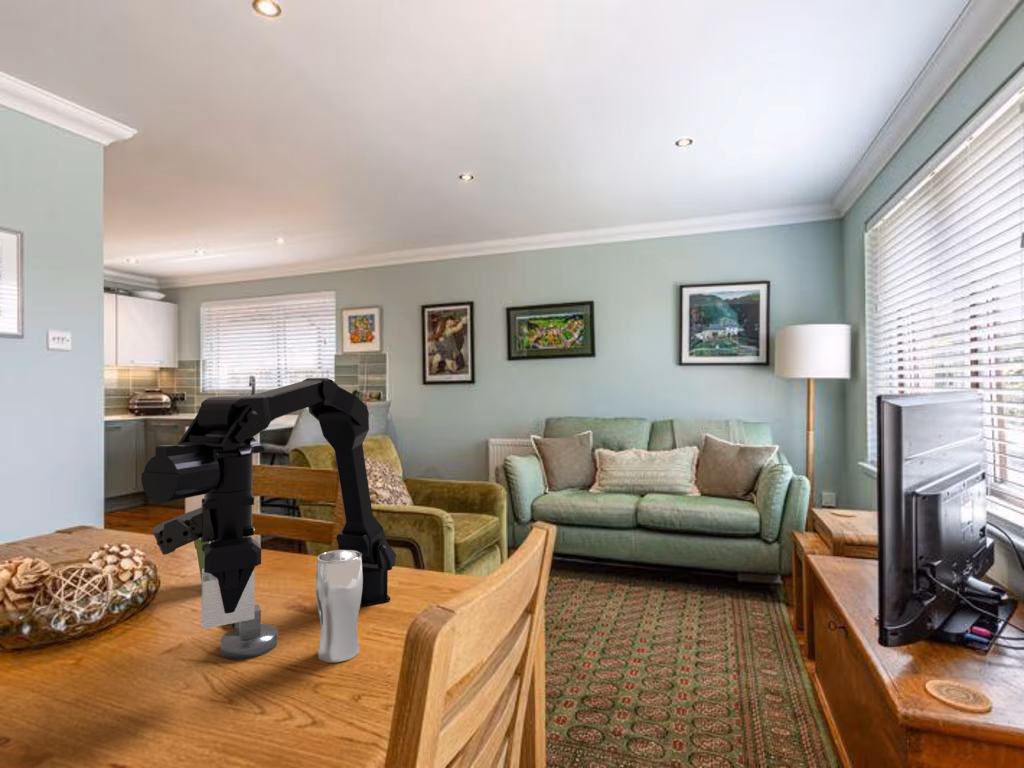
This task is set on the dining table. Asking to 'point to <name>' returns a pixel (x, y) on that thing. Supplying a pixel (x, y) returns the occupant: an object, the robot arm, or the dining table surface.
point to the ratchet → (249, 639)
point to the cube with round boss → (214, 605)
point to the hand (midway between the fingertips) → (227, 604)
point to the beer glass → (339, 603)
